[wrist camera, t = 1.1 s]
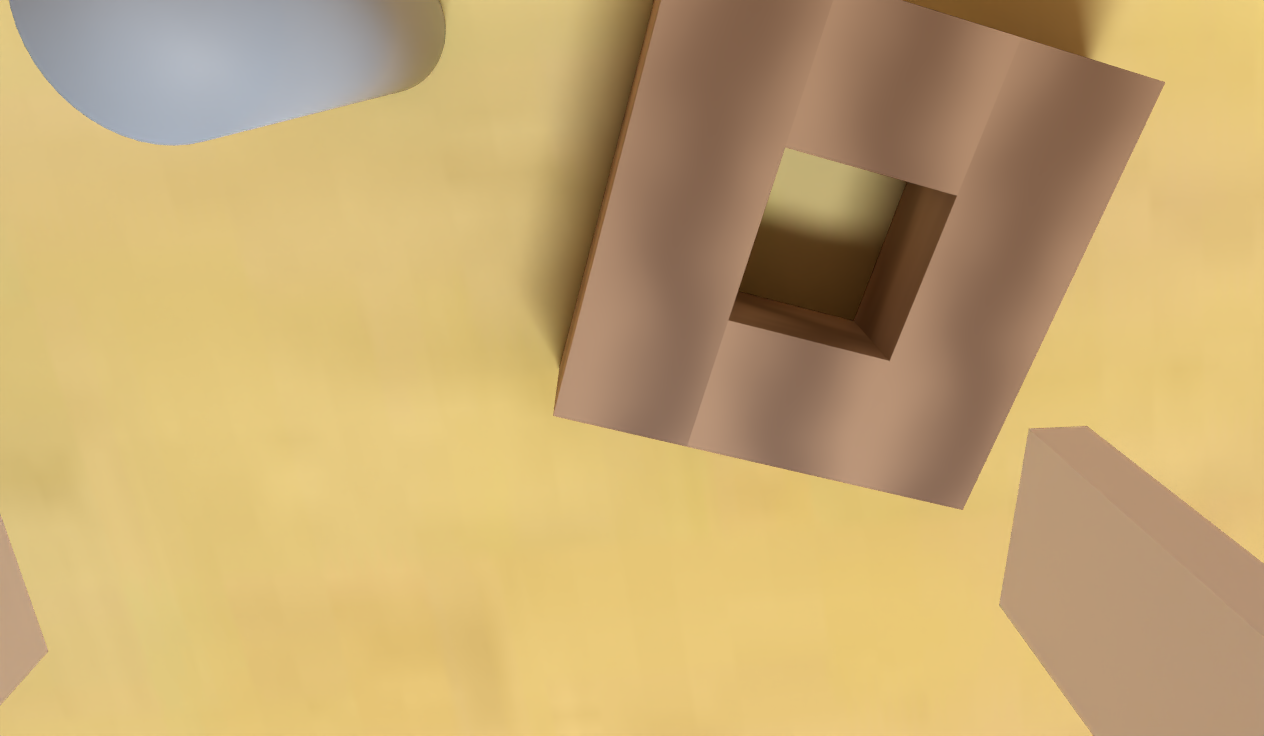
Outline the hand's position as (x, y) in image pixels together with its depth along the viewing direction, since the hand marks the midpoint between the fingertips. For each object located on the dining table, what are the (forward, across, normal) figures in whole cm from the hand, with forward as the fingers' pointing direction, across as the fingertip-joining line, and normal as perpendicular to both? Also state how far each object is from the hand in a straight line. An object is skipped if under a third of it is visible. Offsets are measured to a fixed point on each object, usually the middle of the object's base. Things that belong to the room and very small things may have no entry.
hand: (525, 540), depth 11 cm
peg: (+22, -6, +7) cm, 24 cm away
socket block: (+22, +9, -1) cm, 24 cm away
